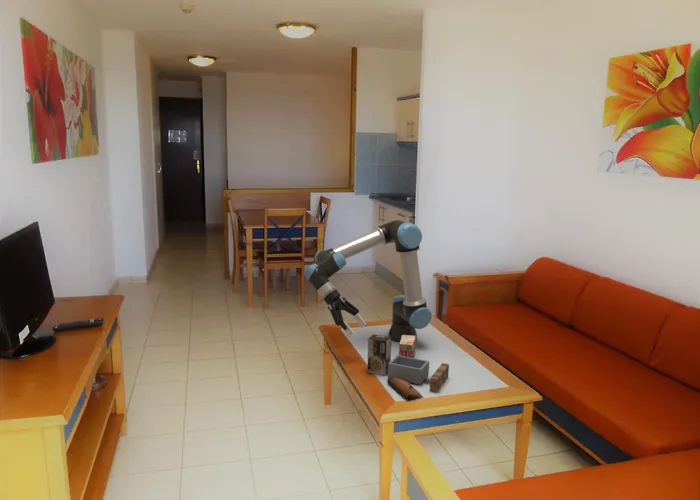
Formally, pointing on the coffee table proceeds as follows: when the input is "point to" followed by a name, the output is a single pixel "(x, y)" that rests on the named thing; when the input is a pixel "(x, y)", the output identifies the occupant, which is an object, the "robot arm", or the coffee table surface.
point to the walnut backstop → (439, 377)
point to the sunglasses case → (404, 388)
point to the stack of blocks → (407, 346)
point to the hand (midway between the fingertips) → (358, 330)
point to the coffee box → (379, 354)
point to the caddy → (408, 369)
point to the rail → (426, 381)
